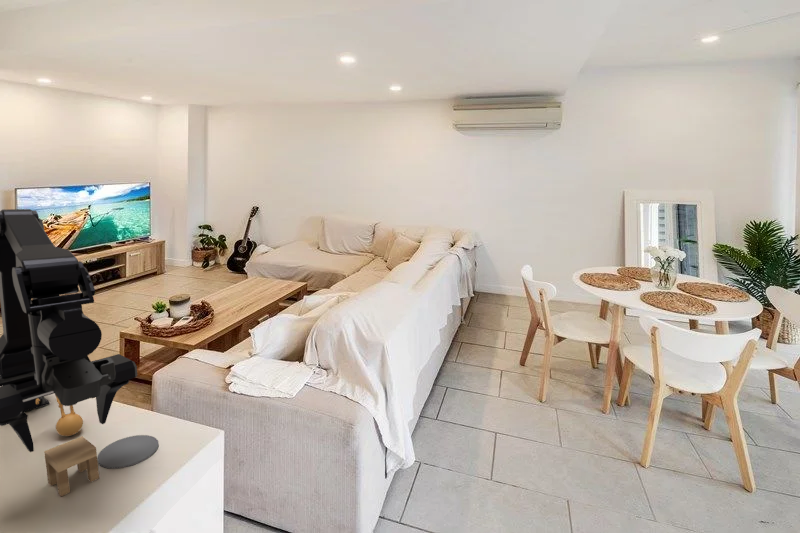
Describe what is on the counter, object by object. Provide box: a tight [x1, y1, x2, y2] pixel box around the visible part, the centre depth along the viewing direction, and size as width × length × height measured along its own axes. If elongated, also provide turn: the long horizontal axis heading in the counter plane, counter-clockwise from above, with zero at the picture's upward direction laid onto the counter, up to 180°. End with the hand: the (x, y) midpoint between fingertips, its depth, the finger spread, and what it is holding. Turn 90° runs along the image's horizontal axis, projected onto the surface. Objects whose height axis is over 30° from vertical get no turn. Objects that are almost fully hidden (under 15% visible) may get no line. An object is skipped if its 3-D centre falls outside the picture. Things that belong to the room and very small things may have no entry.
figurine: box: [36, 394, 84, 437], centre depth 78 cm, size 8×6×12 cm
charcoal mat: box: [97, 434, 159, 469], centre depth 74 cm, size 9×9×1 cm
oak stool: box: [43, 435, 100, 497], centre depth 66 cm, size 5×5×6 cm
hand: (68, 436), depth 65 cm, fingers open, 9 cm apart
